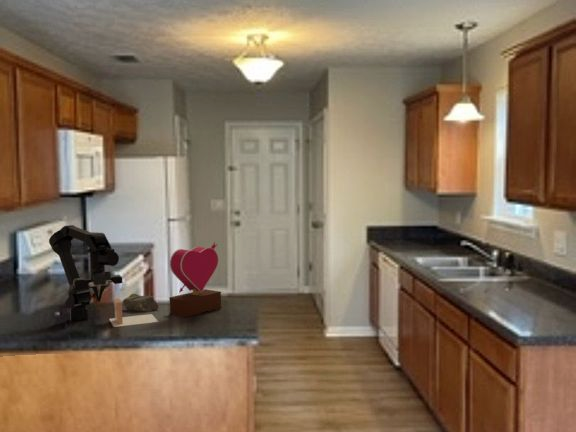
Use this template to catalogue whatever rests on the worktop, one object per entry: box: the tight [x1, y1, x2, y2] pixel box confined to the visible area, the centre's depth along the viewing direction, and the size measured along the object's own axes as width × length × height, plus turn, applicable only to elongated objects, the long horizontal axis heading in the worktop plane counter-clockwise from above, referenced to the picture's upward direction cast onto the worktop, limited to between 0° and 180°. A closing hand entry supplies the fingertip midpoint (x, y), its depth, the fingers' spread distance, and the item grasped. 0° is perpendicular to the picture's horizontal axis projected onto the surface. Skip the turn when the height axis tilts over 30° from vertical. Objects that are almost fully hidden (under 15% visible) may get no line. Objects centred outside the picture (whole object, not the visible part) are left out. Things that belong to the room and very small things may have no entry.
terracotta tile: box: [113, 298, 123, 324], centre depth 251 cm, size 2×8×9 cm, turn 23°
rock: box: [122, 293, 159, 313], centre depth 274 cm, size 17×7×10 cm
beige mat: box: [108, 313, 159, 328], centre depth 254 cm, size 18×15×1 cm
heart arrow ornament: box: [168, 242, 223, 318], centre depth 270 cm, size 25×10×30 cm, turn 141°
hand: (98, 301), depth 248 cm, fingers closed
